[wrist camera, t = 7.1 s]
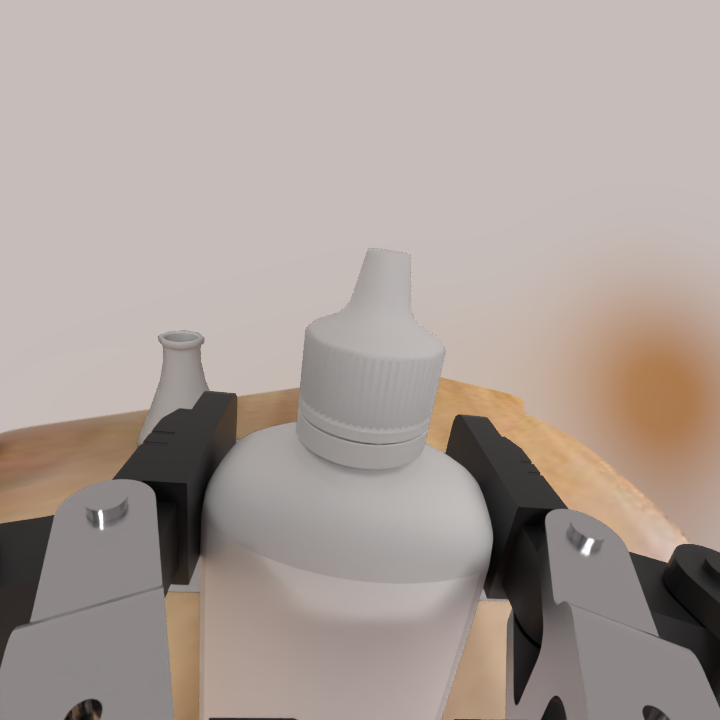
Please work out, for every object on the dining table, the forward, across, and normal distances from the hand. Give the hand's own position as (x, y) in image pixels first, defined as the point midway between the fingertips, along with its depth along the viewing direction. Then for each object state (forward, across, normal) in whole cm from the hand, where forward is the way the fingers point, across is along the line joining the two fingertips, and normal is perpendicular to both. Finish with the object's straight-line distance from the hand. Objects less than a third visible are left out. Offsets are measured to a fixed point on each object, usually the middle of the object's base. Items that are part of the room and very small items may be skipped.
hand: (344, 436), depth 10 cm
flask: (+22, +12, +16) cm, 30 cm away
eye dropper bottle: (-2, 0, +7) cm, 8 cm away
